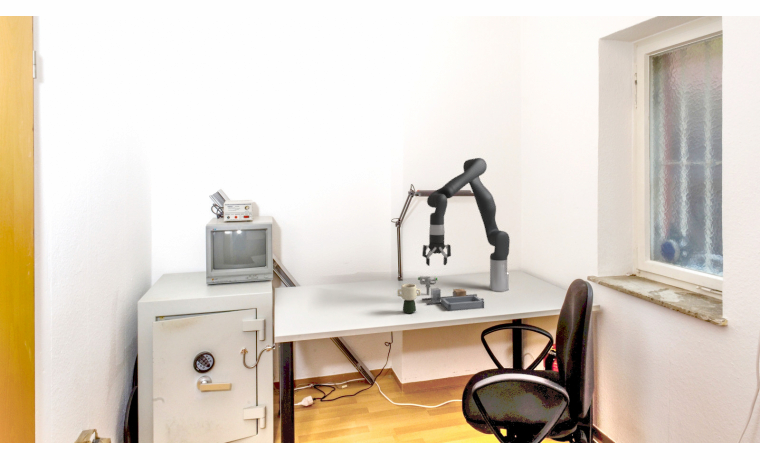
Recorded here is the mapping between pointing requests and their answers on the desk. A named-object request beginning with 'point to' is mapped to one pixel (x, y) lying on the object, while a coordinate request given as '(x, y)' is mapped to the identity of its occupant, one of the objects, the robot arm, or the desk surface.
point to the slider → (459, 292)
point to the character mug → (409, 297)
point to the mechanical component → (427, 282)
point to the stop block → (435, 295)
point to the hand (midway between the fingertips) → (436, 265)
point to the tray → (462, 303)
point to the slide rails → (443, 297)
